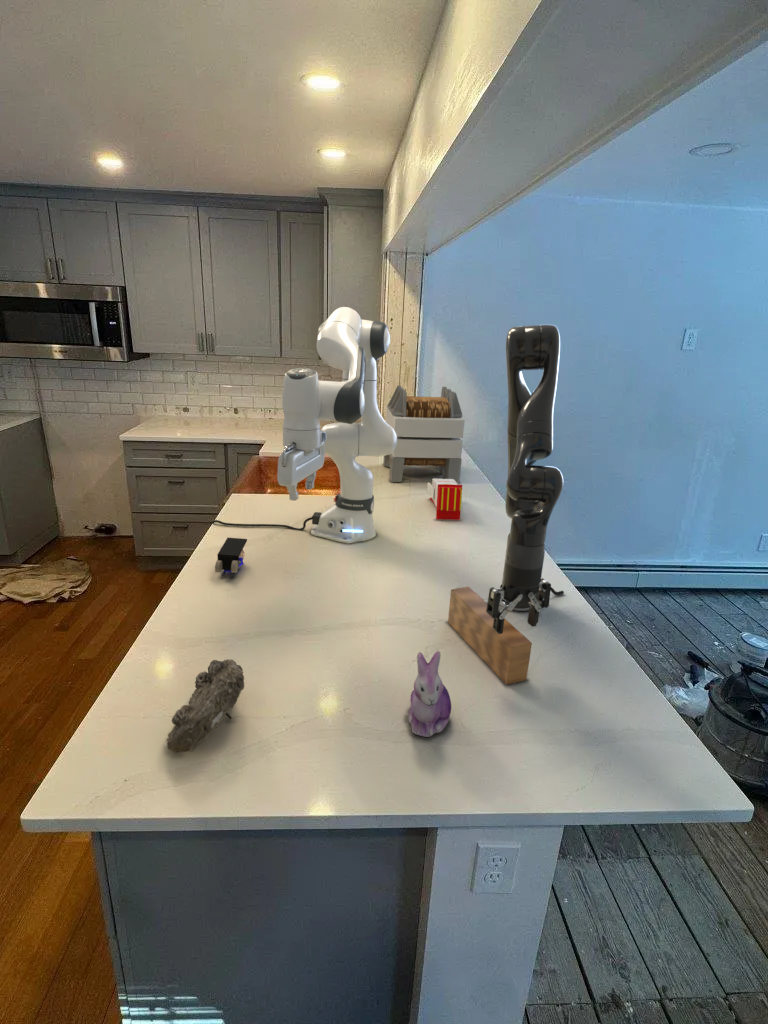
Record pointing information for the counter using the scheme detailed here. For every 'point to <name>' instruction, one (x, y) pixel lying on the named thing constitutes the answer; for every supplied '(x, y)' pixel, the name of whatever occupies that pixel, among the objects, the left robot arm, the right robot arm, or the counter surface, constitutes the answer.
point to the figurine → (429, 699)
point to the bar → (489, 636)
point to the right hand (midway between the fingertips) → (515, 628)
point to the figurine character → (230, 556)
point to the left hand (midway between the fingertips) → (302, 494)
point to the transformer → (425, 433)
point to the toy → (446, 498)
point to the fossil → (206, 705)
